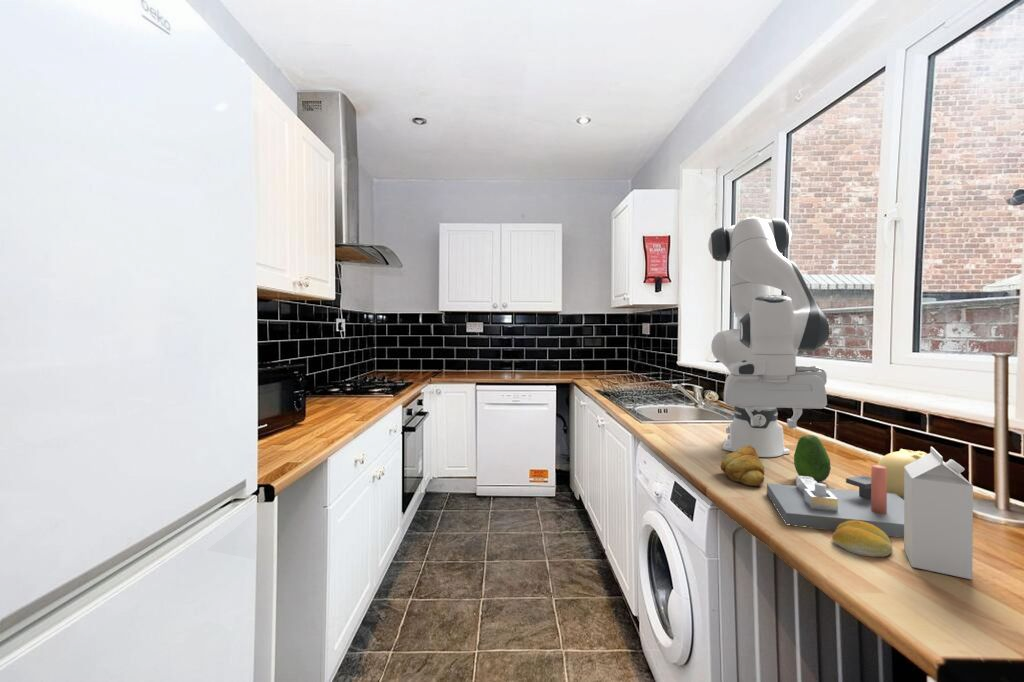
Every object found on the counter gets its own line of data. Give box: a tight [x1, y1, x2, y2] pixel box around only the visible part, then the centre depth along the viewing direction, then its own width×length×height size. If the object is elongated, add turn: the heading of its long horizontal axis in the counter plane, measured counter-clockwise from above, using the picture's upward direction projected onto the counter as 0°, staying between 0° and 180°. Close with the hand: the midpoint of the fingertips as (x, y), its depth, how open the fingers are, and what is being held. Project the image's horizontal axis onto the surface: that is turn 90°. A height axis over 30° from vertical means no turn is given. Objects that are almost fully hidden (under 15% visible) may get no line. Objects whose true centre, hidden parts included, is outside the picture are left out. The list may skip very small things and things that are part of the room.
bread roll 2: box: [832, 520, 893, 558], centre depth 80 cm, size 8×9×4 cm
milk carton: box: [903, 446, 974, 580], centre depth 73 cm, size 7×7×19 cm
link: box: [796, 475, 838, 511], centre depth 95 cm, size 13×5×2 cm, turn 161°
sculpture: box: [876, 448, 928, 499], centre depth 101 cm, size 12×12×11 cm
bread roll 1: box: [719, 446, 765, 487], centre depth 114 cm, size 13×10×8 cm
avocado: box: [793, 434, 832, 483], centre depth 111 cm, size 8×8×12 cm
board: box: [766, 475, 904, 538], centre depth 92 cm, size 17×25×7 cm
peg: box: [870, 464, 887, 514], centre depth 88 cm, size 2×2×9 cm
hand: (773, 426), depth 100 cm, fingers open, 6 cm apart
